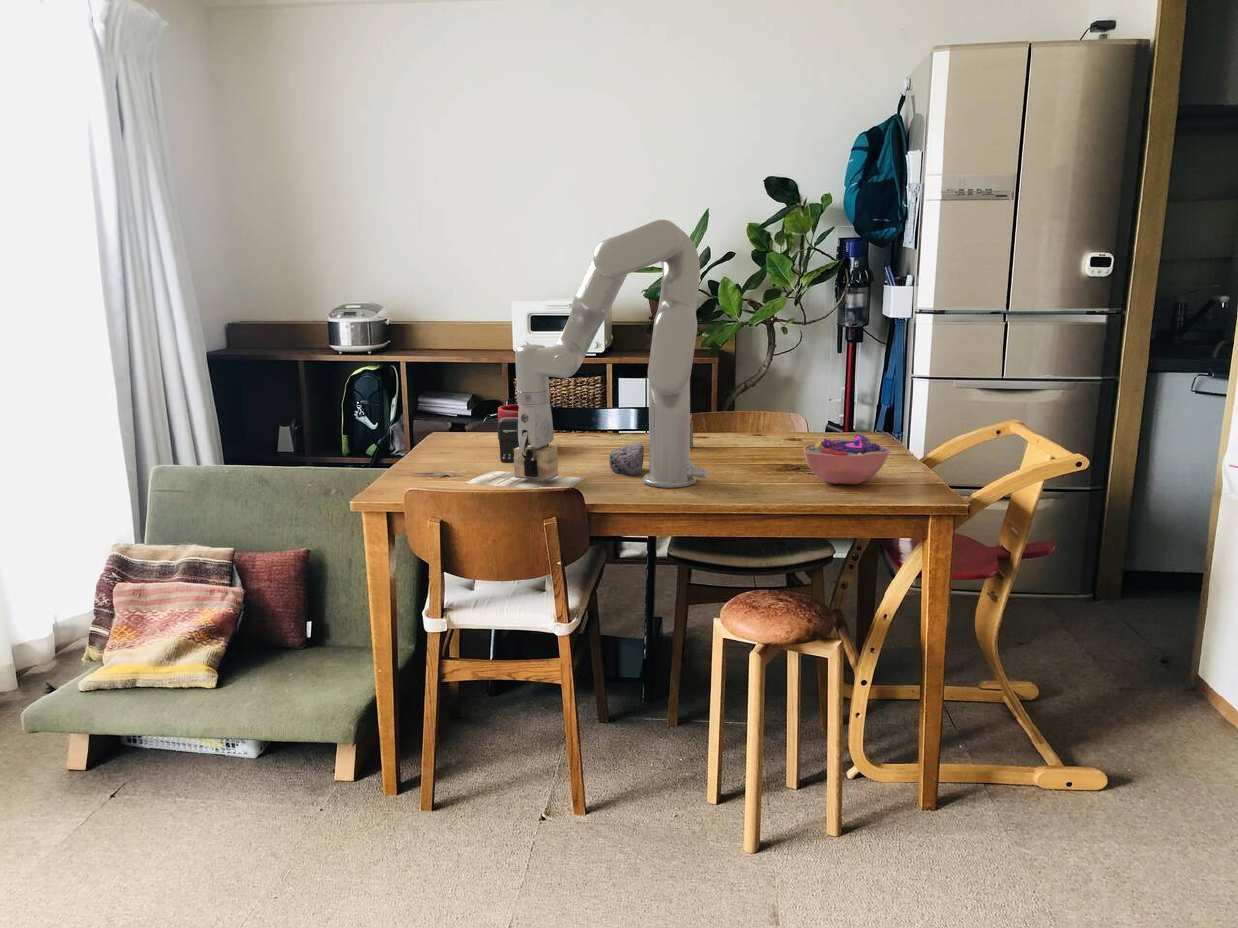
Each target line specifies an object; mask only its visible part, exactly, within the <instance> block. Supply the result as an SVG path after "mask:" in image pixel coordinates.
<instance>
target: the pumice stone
mask: <svg viewBox="0 0 1238 928" xmlns="http://www.w3.org/2000/svg"><path fill="white" fill-rule="evenodd" d="M644 455H645V454H644V445H643V444H641V443H634V444H630V445H622V446H620V447H618V448H615V449H613V450H611V451H610V453H609V467H610V469H611V470H612V472H614V473H615V474H621V475H626V476H632V477H637V476H639V475H641V473H642V470H643V464H644Z"/></svg>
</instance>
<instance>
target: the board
mask: <svg viewBox="0 0 1238 928" xmlns="http://www.w3.org/2000/svg"><path fill="white" fill-rule="evenodd" d="M584 480H587V477H579V476H578V477H577V476H576V477H575V476H574V477H573V476H566V475H565V476H564V475H563V476H562V475H558V476H556V477H555V478H553V479H551V480H537V479H524V478H515V471H514V472H513V471H503V470H490V471H487V472H485V473H483V474H481V475H479V476H477V477H474V478H473V479H470V480H468V481H465V482H464V484H466V485H469V484H470V485H471V484H472V485H482V486H483V485H484V486H491V487H493V486H495V487H505V488H507V487H508V488H516V489H527V488H539V487H571V488H572V487H574V486H576V485H577V484H580V483H581V482H582V481H584Z"/></svg>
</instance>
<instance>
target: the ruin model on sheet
mask: <svg viewBox="0 0 1238 928" xmlns="http://www.w3.org/2000/svg"><path fill="white" fill-rule="evenodd" d="M692 414H693V413H690V450H691V449H693V446H694V436H693V435H694V430H693V429H694V421H693V420H692V417H693V415H692Z"/></svg>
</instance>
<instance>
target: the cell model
mask: <svg viewBox="0 0 1238 928" xmlns="http://www.w3.org/2000/svg"><path fill="white" fill-rule="evenodd" d="M854 436H855V437H854V440H846V439H845V440H844V439H834V440H833V439H832V440H831V439H830V438H829V439H827V438H823V441H817V442H815V443H812V444H806V445H804V446H803V450H802V451H803V455H804V461H805V463H806V464H807V466H808V467H809V469H810V470H811V472H812V473H813V474H814V475H815V476H816V477H818V478H819V479H821V480H822V481H825V482H827V483H829V484H835V485H840V484H841V485H842V484H844V485H858V484H861V483H863V482H865V481H867V480H870V479H871V478H873V477H875V476H876V475H877V473H878V472H879V471H880V470H881V469H882V467H883V466H884V464H885V462H886V461H887V459H888V457H889V455H890V453H891V451H892V450H891V448H889V447H887V446H885V445H882V444H879V443H876V442H871V439H870V438H869V437H868V436H866V435H864V434H863V433H862V434H861V433H857V434H856V435H854Z"/></svg>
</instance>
